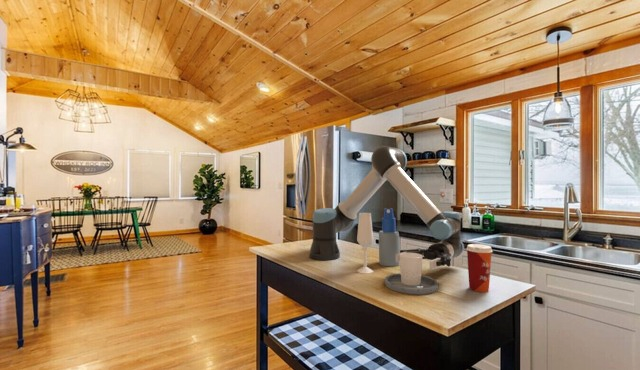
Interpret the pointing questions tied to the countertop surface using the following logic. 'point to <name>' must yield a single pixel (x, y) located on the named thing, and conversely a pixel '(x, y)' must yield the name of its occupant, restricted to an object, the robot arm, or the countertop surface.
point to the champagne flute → (365, 237)
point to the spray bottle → (388, 240)
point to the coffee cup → (479, 266)
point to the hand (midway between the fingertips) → (412, 261)
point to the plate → (425, 287)
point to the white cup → (411, 268)
